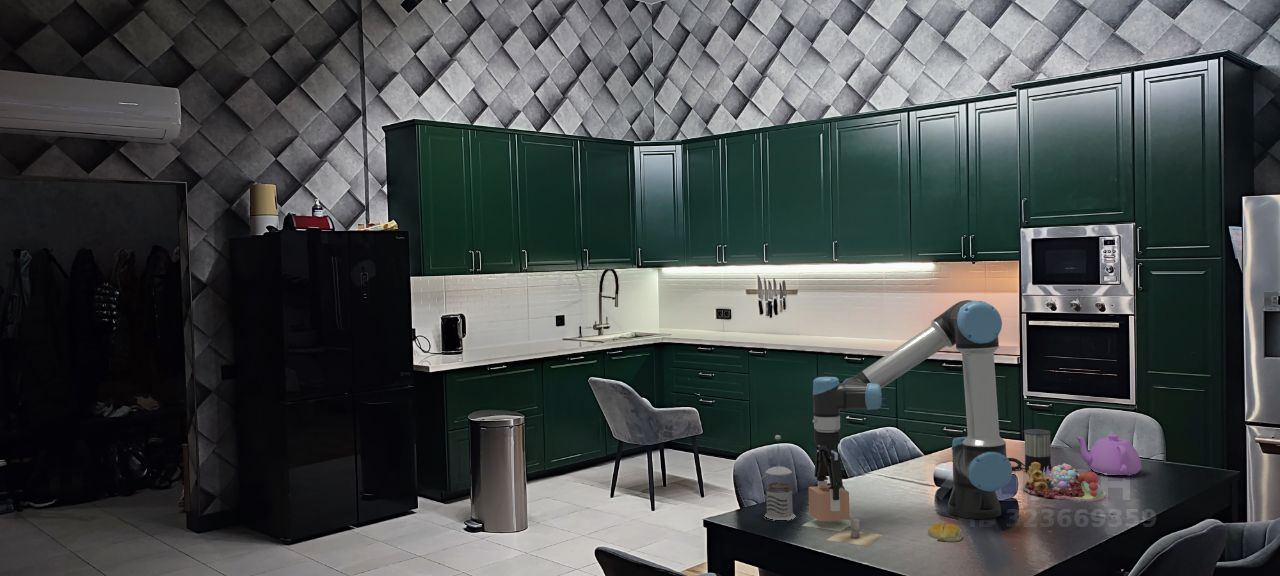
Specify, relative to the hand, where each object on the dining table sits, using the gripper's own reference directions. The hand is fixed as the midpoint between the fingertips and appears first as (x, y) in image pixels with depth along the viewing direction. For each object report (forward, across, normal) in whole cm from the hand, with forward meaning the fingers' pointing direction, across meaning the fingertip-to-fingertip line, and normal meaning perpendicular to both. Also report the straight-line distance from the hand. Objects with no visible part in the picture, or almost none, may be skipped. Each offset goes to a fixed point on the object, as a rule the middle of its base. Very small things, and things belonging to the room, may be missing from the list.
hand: (829, 506), depth 268 cm
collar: (+3, 0, 0) cm, 3 cm away
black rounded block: (+6, -22, +8) cm, 24 cm away
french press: (+6, -14, -11) cm, 19 cm away
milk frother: (+6, -50, +95) cm, 108 cm away
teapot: (+6, -38, +119) cm, 125 cm away
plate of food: (+6, -18, +88) cm, 90 cm away
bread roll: (+6, +20, +26) cm, 33 cm away
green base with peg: (+5, 0, 0) cm, 5 cm away
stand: (+5, +16, +1) cm, 17 cm away
